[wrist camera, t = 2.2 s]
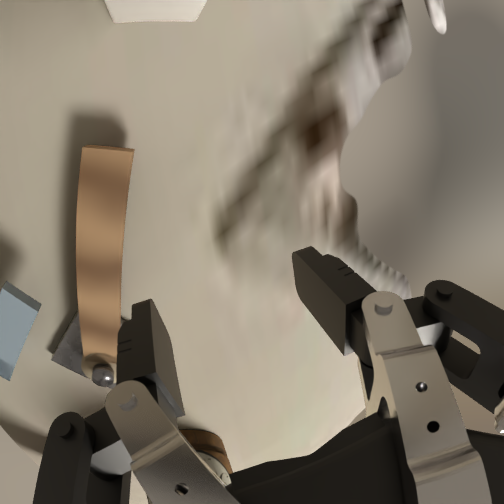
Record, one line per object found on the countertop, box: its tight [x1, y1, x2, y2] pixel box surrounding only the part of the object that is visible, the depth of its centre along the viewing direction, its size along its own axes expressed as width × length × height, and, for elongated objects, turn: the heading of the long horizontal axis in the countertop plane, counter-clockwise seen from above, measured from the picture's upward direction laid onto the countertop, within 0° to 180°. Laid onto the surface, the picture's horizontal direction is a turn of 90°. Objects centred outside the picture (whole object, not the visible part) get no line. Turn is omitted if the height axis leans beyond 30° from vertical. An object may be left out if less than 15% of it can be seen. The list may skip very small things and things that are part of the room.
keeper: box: [0, 281, 41, 381], centre depth 23 cm, size 12×4×5 cm, turn 136°
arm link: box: [76, 145, 134, 383], centre depth 25 cm, size 24×5×2 cm, turn 165°
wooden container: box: [147, 430, 233, 504], centre depth 35 cm, size 15×15×22 cm
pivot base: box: [51, 309, 126, 389], centre depth 29 cm, size 10×10×5 cm
